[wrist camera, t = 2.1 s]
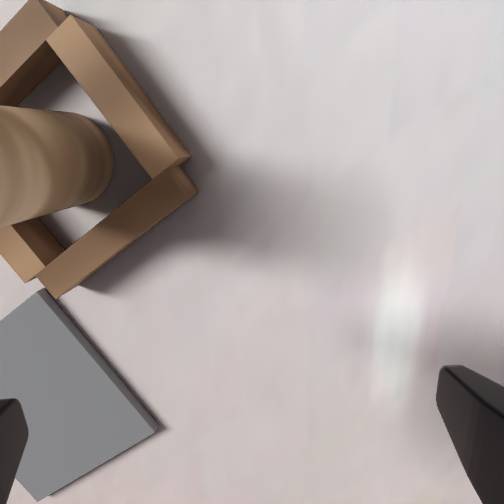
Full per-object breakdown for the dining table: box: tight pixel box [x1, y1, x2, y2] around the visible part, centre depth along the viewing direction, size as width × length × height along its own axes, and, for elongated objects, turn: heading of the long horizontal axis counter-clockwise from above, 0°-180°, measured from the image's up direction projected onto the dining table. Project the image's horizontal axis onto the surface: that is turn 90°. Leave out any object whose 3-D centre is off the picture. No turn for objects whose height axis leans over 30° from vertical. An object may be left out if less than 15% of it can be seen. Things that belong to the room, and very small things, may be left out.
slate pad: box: [0, 288, 159, 502], centre depth 24 cm, size 10×10×1 cm
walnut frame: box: [0, 0, 199, 299], centre depth 20 cm, size 10×10×2 cm
